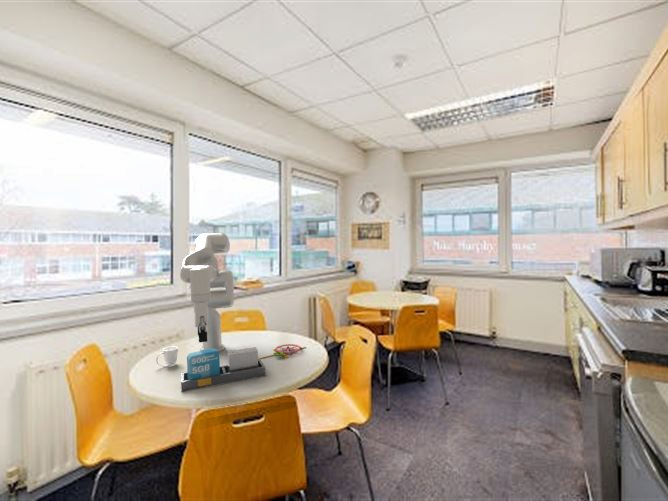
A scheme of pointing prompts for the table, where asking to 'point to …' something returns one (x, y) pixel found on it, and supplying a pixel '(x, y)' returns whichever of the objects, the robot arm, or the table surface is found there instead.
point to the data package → (203, 364)
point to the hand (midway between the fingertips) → (202, 338)
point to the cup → (169, 356)
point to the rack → (229, 370)
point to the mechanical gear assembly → (284, 350)
